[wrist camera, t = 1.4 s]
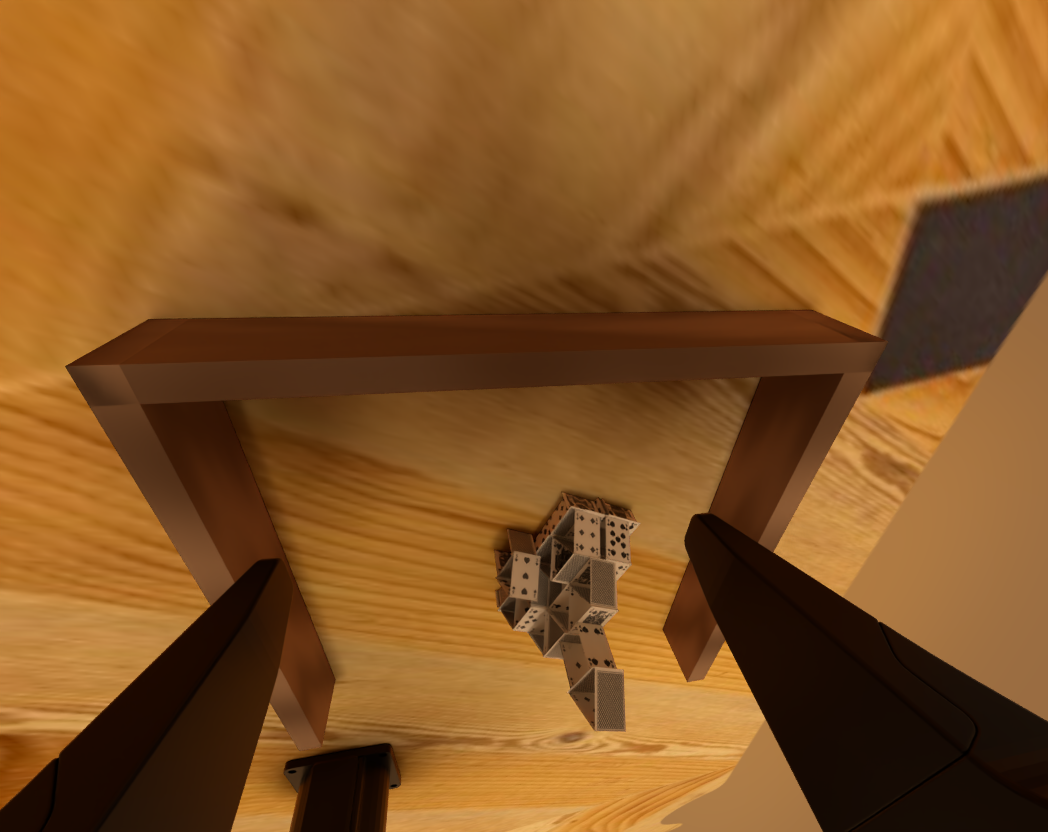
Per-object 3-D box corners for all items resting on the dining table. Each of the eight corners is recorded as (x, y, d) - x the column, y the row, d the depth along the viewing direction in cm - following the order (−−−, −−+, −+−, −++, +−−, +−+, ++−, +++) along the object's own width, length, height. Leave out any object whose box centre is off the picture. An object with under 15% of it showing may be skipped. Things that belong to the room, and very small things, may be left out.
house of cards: (476, 417, 15) (503, 610, 9) (653, 477, 18) (765, 649, 12) (396, 570, 19) (373, 783, 12) (555, 597, 22) (601, 776, 16)
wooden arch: (677, 627, 25) (703, 679, 23) (315, 682, 22) (299, 750, 19) (812, 310, 15) (888, 341, 12) (148, 319, 11) (65, 366, 9)
